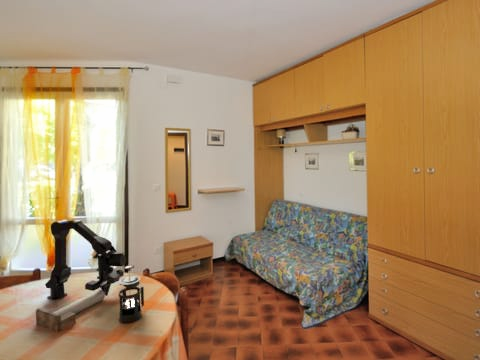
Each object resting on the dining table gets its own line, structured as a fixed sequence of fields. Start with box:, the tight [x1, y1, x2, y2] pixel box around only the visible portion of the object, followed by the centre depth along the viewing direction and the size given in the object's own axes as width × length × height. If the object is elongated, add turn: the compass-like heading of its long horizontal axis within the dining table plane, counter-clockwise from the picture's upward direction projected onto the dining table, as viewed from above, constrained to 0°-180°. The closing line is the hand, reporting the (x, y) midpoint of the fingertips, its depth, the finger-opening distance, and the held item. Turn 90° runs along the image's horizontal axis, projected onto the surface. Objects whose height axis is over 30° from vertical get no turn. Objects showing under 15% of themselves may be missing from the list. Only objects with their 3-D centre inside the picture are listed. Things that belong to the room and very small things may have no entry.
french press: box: [117, 264, 145, 325], centre depth 117 cm, size 12×9×23 cm
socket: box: [35, 307, 77, 333], centre depth 113 cm, size 14×8×7 cm, turn 67°
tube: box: [53, 288, 106, 316], centre depth 123 cm, size 5×5×25 cm
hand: (106, 295), depth 136 cm, fingers closed
